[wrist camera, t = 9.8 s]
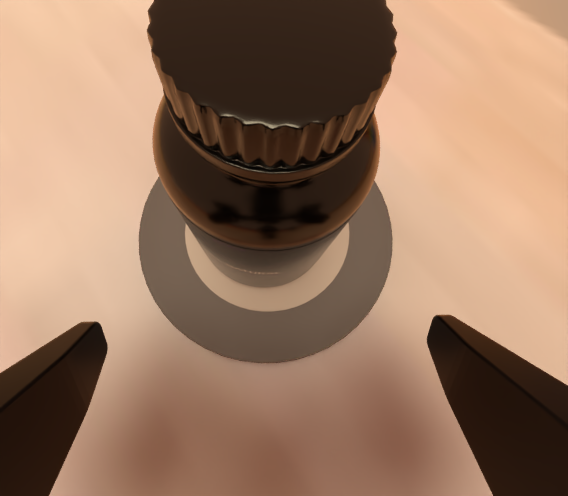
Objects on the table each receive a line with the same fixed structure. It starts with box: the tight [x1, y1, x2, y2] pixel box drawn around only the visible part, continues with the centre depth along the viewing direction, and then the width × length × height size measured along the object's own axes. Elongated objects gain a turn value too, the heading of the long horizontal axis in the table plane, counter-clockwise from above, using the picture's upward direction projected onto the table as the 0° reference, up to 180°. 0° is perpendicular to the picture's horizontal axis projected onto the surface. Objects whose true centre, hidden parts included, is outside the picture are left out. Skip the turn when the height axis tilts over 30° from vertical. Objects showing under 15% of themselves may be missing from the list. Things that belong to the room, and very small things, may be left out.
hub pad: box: [139, 177, 392, 363], centre depth 18 cm, size 14×14×2 cm
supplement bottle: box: [147, 0, 397, 288], centre depth 12 cm, size 7×7×12 cm
